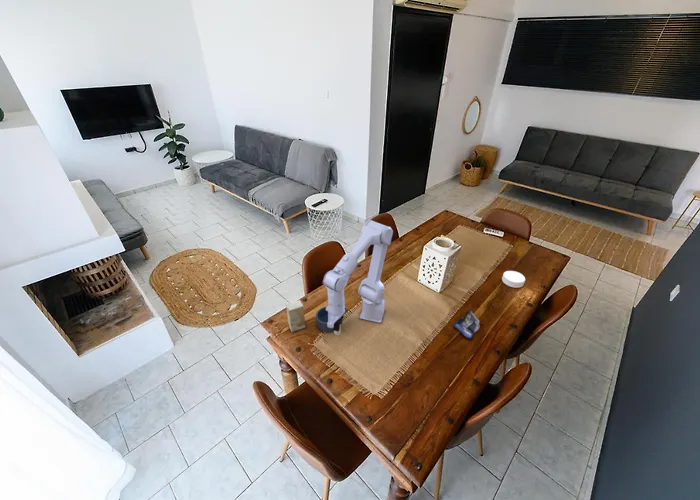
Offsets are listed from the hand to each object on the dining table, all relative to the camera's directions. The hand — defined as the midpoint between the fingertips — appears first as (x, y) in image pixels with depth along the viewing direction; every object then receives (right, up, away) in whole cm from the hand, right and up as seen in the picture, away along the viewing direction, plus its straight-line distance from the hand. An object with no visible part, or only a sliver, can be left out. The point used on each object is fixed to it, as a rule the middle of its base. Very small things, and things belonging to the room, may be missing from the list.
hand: (337, 327), depth 115 cm
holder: (-4, -2, +14) cm, 15 cm away
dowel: (0, -2, +2) cm, 3 cm away
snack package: (+54, -4, +11) cm, 55 cm away
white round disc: (+86, +13, +36) cm, 94 cm away
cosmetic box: (-17, -3, +13) cm, 22 cm away
